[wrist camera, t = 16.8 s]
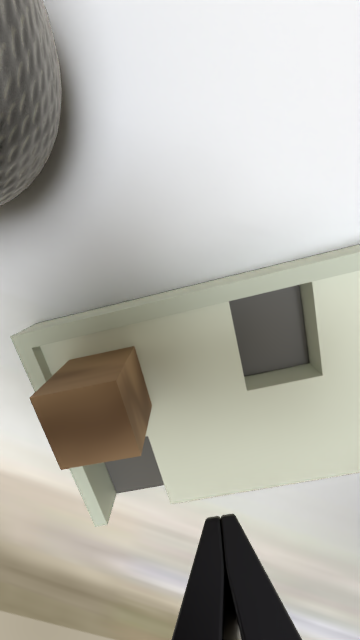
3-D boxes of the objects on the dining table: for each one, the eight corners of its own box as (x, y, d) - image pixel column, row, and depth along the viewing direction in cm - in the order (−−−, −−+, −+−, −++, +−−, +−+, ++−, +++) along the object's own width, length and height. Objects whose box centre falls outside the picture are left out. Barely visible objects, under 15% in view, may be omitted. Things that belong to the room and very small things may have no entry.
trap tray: (404, 441, 21) (437, 470, 18) (106, 493, 23) (95, 526, 20) (399, 234, 16) (441, 232, 14) (35, 323, 19) (10, 336, 16)
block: (152, 405, 18) (141, 455, 14) (90, 417, 18) (60, 469, 14) (134, 346, 17) (115, 380, 12) (69, 359, 17) (29, 397, 13)
